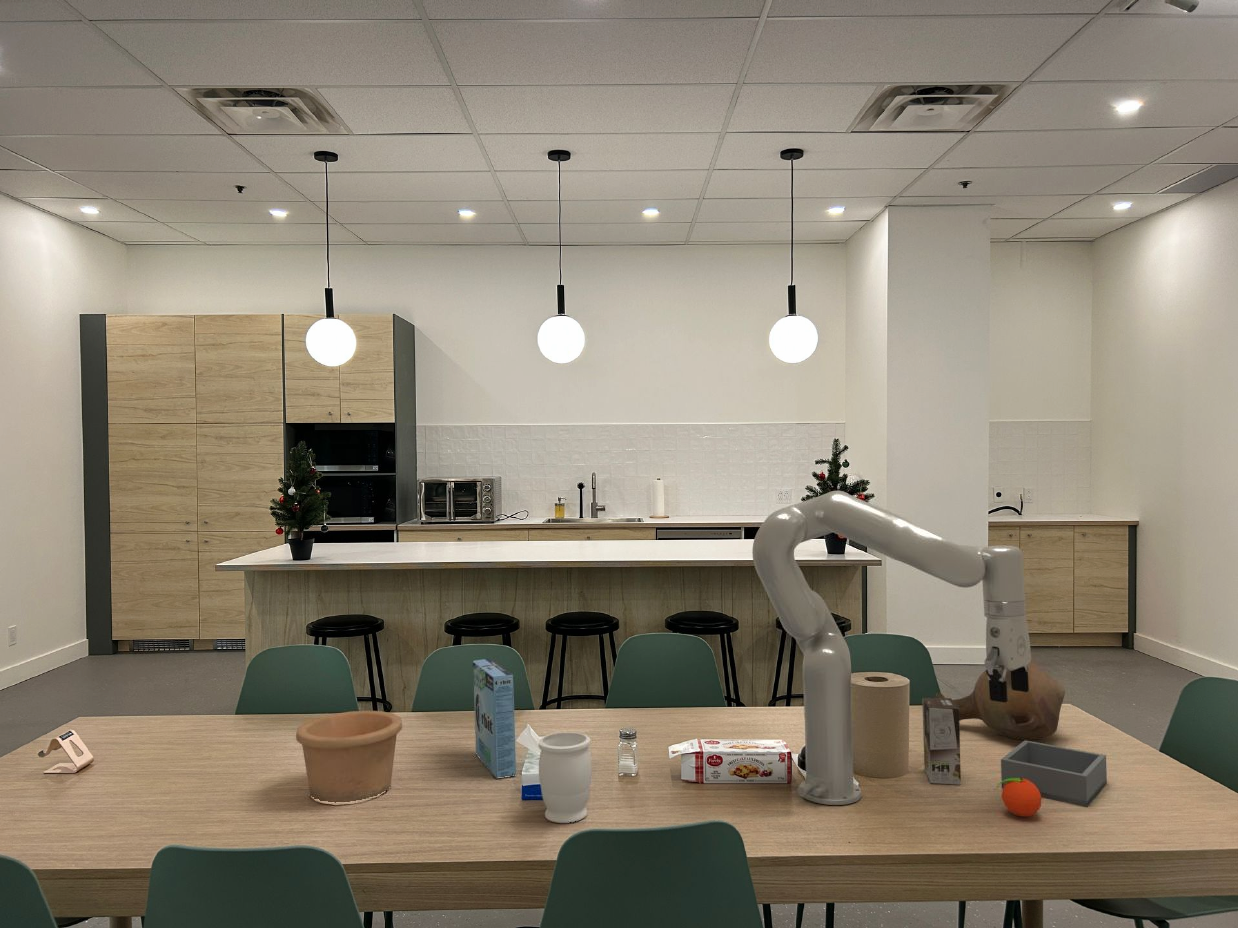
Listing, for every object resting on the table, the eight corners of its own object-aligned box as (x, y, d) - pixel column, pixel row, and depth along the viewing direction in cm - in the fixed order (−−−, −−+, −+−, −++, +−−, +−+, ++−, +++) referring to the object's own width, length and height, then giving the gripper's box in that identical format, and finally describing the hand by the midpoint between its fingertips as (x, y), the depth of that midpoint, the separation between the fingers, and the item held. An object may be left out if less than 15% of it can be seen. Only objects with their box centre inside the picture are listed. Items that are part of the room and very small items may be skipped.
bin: (1087, 807, 166) (1086, 776, 166) (1001, 788, 177) (1000, 759, 177) (1106, 783, 178) (1106, 754, 178) (1025, 767, 188) (1024, 740, 188)
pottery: (278, 793, 183) (277, 726, 183) (370, 766, 199) (368, 704, 199) (328, 819, 168) (327, 747, 168) (423, 788, 184) (421, 721, 184)
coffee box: (962, 785, 179) (960, 708, 179) (930, 783, 180) (928, 707, 180) (954, 770, 188) (952, 697, 188) (923, 768, 189) (921, 696, 189)
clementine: (997, 819, 161) (996, 781, 161) (994, 805, 168) (993, 769, 168) (1044, 824, 158) (1043, 786, 158) (1039, 810, 165) (1038, 773, 165)
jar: (572, 830, 160) (570, 750, 161) (528, 819, 166) (527, 742, 166) (602, 810, 169) (601, 735, 170) (560, 801, 175) (559, 728, 175)
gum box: (516, 776, 190) (514, 674, 190) (494, 780, 188) (492, 676, 188) (494, 751, 208) (492, 657, 208) (474, 754, 206) (472, 659, 206)
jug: (1080, 736, 209) (955, 738, 226) (1065, 655, 214) (945, 662, 231) (1063, 741, 193) (931, 742, 210) (1048, 653, 198) (920, 661, 216)
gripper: (1004, 616, 158) (1010, 708, 158) (1042, 604, 170) (1047, 689, 170) (965, 613, 164) (970, 702, 164) (1004, 601, 176) (1009, 684, 175)
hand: (1009, 695), depth 167 cm, fingers open, 9 cm apart
